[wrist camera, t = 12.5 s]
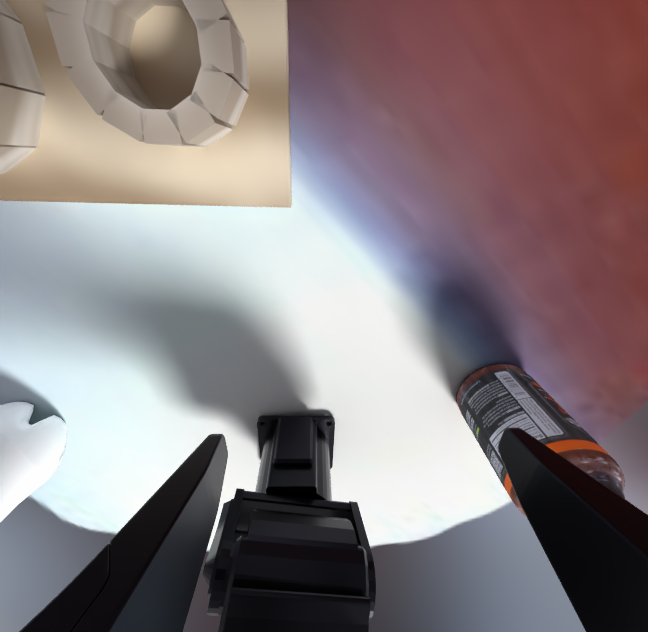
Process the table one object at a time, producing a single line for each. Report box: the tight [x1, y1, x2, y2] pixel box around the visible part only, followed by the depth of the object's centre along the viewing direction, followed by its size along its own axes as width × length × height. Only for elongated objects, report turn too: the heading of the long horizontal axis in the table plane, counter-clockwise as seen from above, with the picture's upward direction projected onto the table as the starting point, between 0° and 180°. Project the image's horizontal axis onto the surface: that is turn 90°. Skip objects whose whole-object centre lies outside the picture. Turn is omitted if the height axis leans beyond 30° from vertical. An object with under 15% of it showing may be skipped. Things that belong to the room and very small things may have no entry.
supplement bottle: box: [457, 364, 630, 517], centre depth 20 cm, size 6×6×11 cm
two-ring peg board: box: [0, 0, 292, 207], centre depth 12 cm, size 12×22×4 cm, turn 89°
